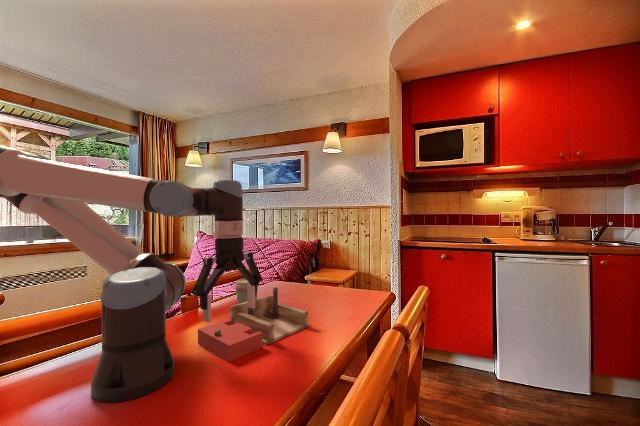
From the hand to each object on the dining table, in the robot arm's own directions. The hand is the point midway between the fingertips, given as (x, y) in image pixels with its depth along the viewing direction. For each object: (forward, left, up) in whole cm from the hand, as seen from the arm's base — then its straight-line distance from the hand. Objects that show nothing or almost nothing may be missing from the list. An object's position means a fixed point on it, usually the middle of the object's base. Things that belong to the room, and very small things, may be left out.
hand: (230, 314), depth 79 cm
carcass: (+15, +2, -9) cm, 18 cm away
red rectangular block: (0, 0, -9) cm, 9 cm away
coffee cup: (+18, +19, -9) cm, 28 cm away
